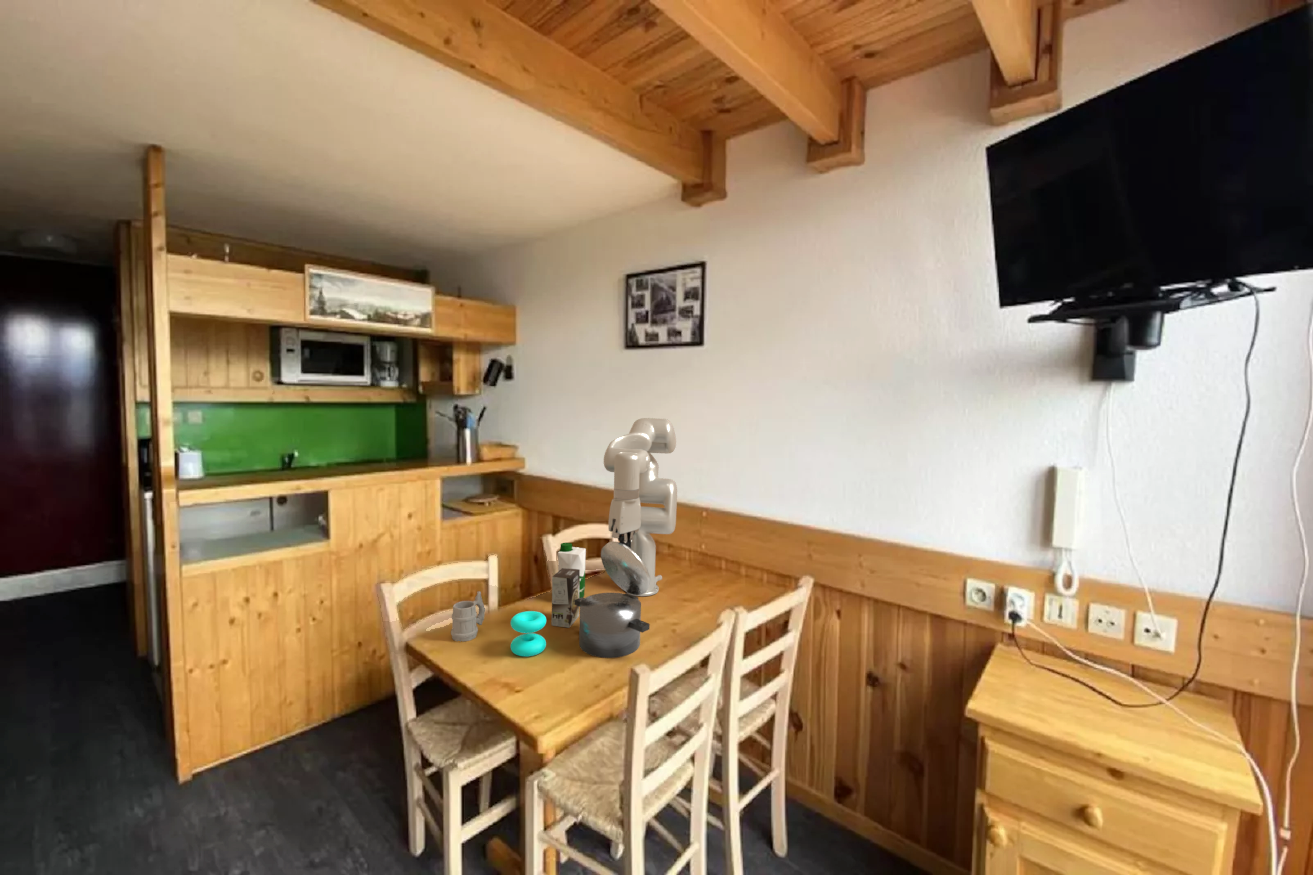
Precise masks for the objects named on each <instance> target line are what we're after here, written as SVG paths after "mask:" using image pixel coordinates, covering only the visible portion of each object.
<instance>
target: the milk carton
mask: <svg viewBox="0 0 1313 875" xmlns="http://www.w3.org/2000/svg"><path fill="white" fill-rule="evenodd" d="M586 550H587V549H586V548H584V547H577V546H576V547H575V546H573V543H571V542H562V543H560V549H559V550H558V552H557V559H558V560H557V561H558V562H557V563H558V565H557V566H558V567H557V568H558V569H557V570H558V571H560V570H561V569H562V568H565V569H579V570H580V583H579V598H581V597H583V598H585V588H586V553H587V551H586ZM558 571H557V572H558Z"/></svg>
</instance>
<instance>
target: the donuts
mask: <svg viewBox="0 0 1313 875" xmlns="http://www.w3.org/2000/svg"><path fill="white" fill-rule="evenodd" d="M546 624H547V617H546V616H545V614H543V613H542V612H540V611H536V610H535V611H534V610H527V611H522V612H518V613H516V614H515V615H514V616H513V617H511V619H510V627H511V629H512V630H514V631H515V632H518V633H521V634H520V635H517V636H516V637H515V638H513V639H512V640H511V643H510V651H511V652H512V653H513V654H514V655H516V656H518V657H519V656H520V657H533V656H536V655H539V654H541V653H542V652H544V650H545V649H546V647H547V642H546V639H545V637H544V636H542V635H541V634H538V633H536V632H539V631H540V630H542V629H543V628H544V627H545V626H546Z"/></svg>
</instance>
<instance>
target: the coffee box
mask: <svg viewBox="0 0 1313 875" xmlns="http://www.w3.org/2000/svg"><path fill="white" fill-rule="evenodd" d="M551 578H552V582H551V626H554V627H562V628H571V626H572V625H573V624H574V623H575V621H577V619H578V618H580V607H579V606H577V605H575V600H576V599H578V598H579V583H580V570H579V569H565V568H562V569H561V570H560V571H557V572H556V573H555V574H554V575H552V576H551Z"/></svg>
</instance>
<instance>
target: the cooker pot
mask: <svg viewBox="0 0 1313 875" xmlns="http://www.w3.org/2000/svg"><path fill="white" fill-rule="evenodd" d="M575 605H577V606H579V640H578V642H579V648H580V650H582V651H583V653H586V654H588V655H590V656H592V657H596V658H603V659H604V658H605V659H606V658H607V659H615V658H620V657H625V656H628V655H631V654H633V653H635V652H636V651H637V650H638V649H639V648H640V645H641V633H642V634H643V633H645V632H647V631H649V630H650V626H651V624H650V623H648V622H646V621H643V620H641V618H642V603H641V600H639V596H635V595H631V594H629V593H627V592H626V593H620V592H600V593H595V594H592V595H589V596H586V597H581V598H578V599H576V600H575Z"/></svg>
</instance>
